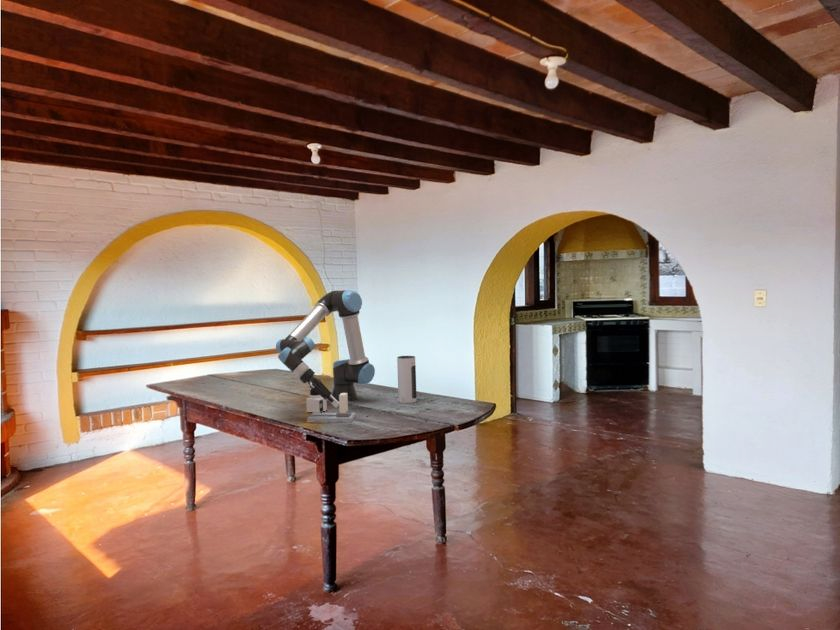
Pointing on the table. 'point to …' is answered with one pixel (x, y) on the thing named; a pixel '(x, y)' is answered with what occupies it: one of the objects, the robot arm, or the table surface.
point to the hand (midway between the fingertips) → (338, 405)
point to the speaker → (406, 379)
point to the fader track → (330, 417)
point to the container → (316, 402)
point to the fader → (343, 406)
